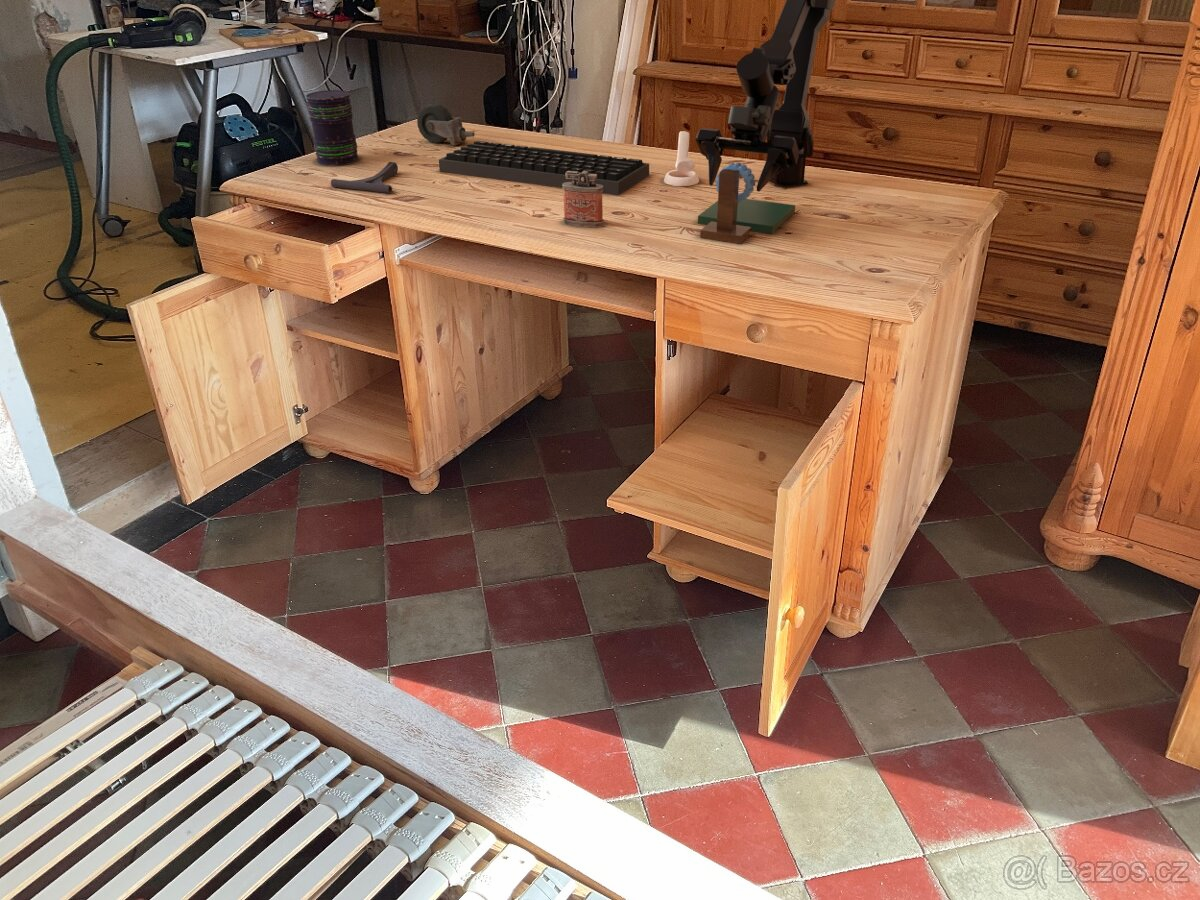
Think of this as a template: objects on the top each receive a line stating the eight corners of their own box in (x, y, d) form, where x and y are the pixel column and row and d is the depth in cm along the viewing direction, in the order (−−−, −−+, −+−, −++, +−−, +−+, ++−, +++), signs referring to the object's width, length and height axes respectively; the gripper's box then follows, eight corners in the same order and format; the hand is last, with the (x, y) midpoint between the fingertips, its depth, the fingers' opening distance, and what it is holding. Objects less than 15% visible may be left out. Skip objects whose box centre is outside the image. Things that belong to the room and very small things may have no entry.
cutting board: (723, 203, 198) (723, 195, 197) (794, 212, 192) (795, 205, 192) (697, 223, 188) (697, 215, 187) (772, 234, 182) (772, 226, 181)
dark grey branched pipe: (423, 175, 219) (422, 163, 217) (388, 194, 207) (386, 181, 205) (368, 170, 223) (367, 158, 222) (331, 188, 211) (329, 175, 210)
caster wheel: (417, 147, 244) (469, 146, 238) (410, 107, 239) (462, 105, 233) (429, 141, 248) (480, 140, 242) (422, 102, 243) (474, 100, 237)
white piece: (693, 146, 217) (705, 133, 210) (691, 198, 215) (703, 187, 209) (661, 140, 215) (673, 128, 208) (659, 193, 213) (670, 182, 207)
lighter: (606, 222, 189) (605, 171, 183) (600, 228, 186) (599, 175, 181) (567, 218, 191) (565, 167, 186) (560, 224, 188) (559, 172, 183)
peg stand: (719, 221, 188) (722, 159, 182) (759, 227, 185) (763, 163, 179) (699, 237, 181) (702, 173, 174) (740, 243, 177) (745, 178, 171)
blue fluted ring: (719, 197, 183) (720, 160, 180) (754, 202, 181) (756, 164, 177) (714, 201, 181) (716, 163, 178) (749, 205, 179) (752, 167, 175)
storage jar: (310, 159, 232) (299, 93, 224) (350, 152, 236) (340, 88, 229) (324, 168, 225) (313, 101, 217) (365, 161, 229) (356, 95, 221)
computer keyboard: (649, 175, 216) (649, 158, 214) (618, 195, 204) (618, 176, 202) (477, 154, 233) (476, 138, 231) (439, 171, 221) (438, 154, 219)
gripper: (701, 82, 178) (675, 158, 175) (800, 90, 171) (775, 169, 168) (714, 118, 188) (690, 189, 186) (808, 127, 181) (785, 202, 178)
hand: (733, 187), depth 179 cm, fingers open, 9 cm apart
